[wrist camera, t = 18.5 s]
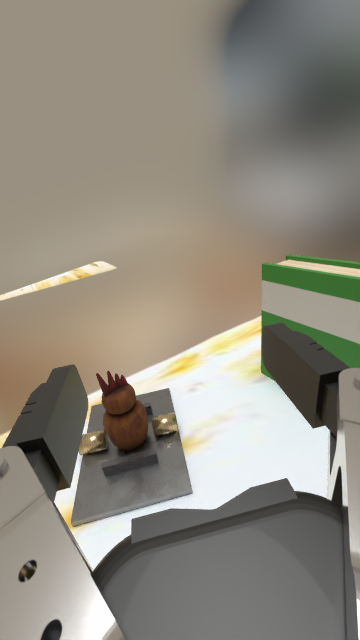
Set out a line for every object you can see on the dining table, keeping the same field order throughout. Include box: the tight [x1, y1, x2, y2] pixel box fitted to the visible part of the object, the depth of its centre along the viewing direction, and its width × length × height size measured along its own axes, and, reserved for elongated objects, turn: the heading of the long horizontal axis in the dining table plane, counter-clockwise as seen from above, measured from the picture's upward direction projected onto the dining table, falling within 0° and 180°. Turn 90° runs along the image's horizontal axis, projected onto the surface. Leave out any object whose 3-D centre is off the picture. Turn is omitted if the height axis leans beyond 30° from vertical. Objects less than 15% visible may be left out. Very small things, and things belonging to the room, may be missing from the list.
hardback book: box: [261, 255, 360, 380], centre depth 45 cm, size 18×7×24 cm, turn 32°
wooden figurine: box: [96, 371, 148, 450], centre depth 39 cm, size 7×6×15 cm
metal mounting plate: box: [71, 388, 192, 527], centre depth 42 cm, size 16×21×4 cm
